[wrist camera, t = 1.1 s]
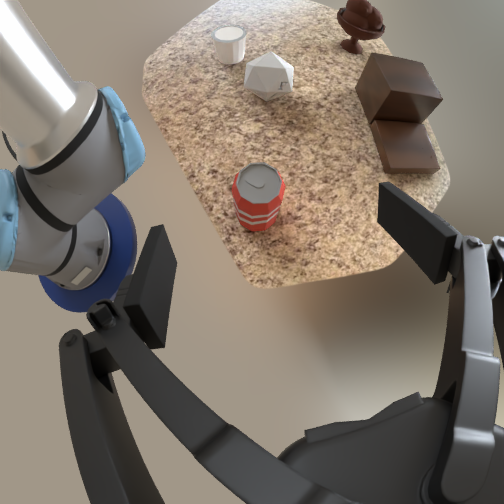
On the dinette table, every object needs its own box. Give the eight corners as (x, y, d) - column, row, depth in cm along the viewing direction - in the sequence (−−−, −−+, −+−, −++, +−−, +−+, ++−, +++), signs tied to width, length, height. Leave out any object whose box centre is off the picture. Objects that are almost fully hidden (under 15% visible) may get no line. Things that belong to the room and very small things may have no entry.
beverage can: (249, 186, 44) (249, 149, 32) (284, 207, 43) (296, 176, 31) (228, 218, 43) (220, 189, 31) (264, 240, 42) (269, 218, 31)
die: (239, 106, 47) (269, 93, 39) (230, 64, 44) (258, 44, 35) (276, 103, 50) (309, 93, 42) (268, 64, 47) (299, 48, 39)
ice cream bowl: (341, 61, 49) (358, 12, 34) (322, 33, 50) (334, -13, 35) (380, 63, 49) (402, 19, 34) (360, 35, 51) (376, -7, 36)
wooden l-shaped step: (354, 88, 47) (371, 52, 37) (401, 93, 48) (422, 62, 37) (384, 173, 44) (414, 145, 34) (433, 173, 45) (465, 150, 34)
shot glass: (217, 69, 48) (214, 45, 41) (212, 50, 49) (208, 27, 42) (250, 63, 48) (250, 39, 41) (243, 45, 49) (242, 22, 42)
